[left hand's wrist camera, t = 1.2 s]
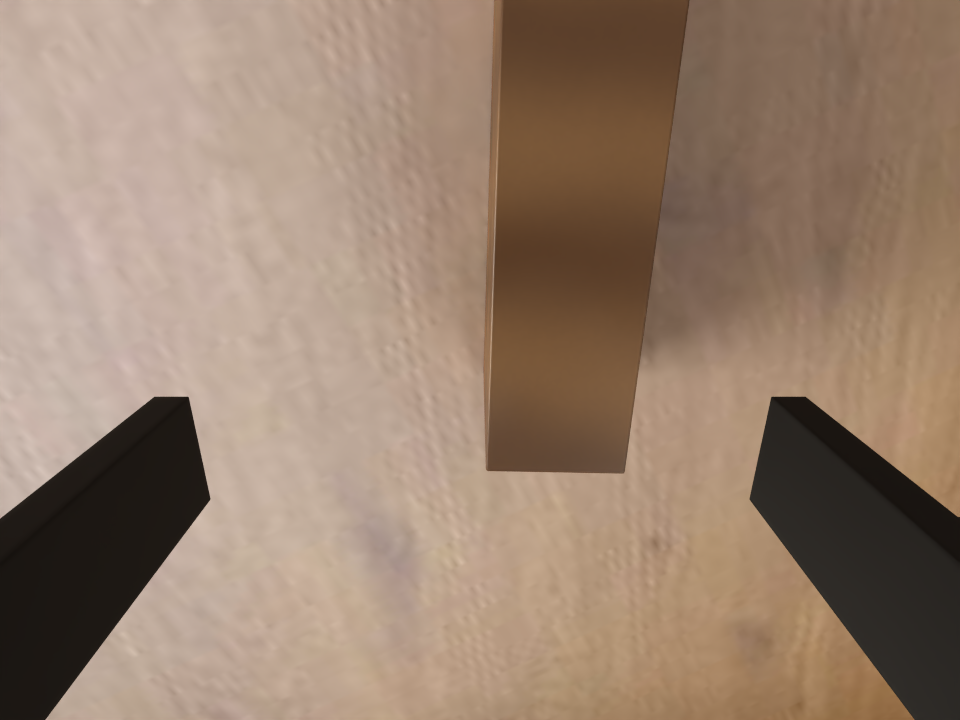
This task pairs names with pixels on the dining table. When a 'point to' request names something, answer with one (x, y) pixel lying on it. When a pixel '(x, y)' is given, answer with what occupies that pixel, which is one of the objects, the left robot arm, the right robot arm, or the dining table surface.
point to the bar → (573, 223)
